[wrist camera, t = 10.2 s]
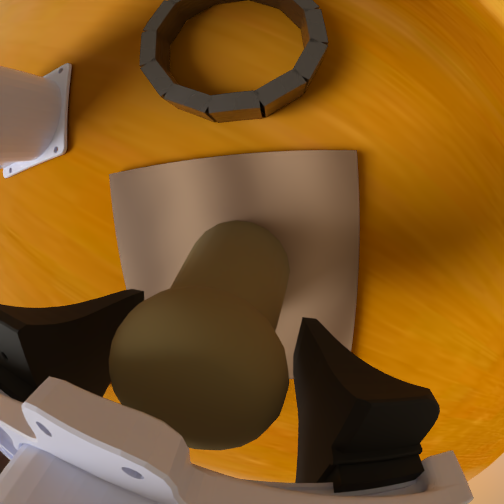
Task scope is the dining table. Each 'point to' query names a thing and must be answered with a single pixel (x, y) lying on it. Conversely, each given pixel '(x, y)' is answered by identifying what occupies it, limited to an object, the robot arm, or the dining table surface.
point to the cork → (210, 341)
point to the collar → (238, 103)
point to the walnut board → (258, 212)
